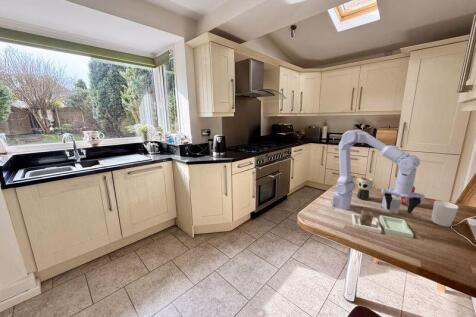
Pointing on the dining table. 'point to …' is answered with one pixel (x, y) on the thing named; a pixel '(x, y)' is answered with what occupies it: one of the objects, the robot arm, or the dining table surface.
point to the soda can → (405, 198)
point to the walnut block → (366, 218)
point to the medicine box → (392, 204)
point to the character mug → (364, 187)
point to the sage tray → (395, 226)
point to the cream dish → (374, 226)
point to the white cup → (444, 213)
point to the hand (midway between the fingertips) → (398, 210)
